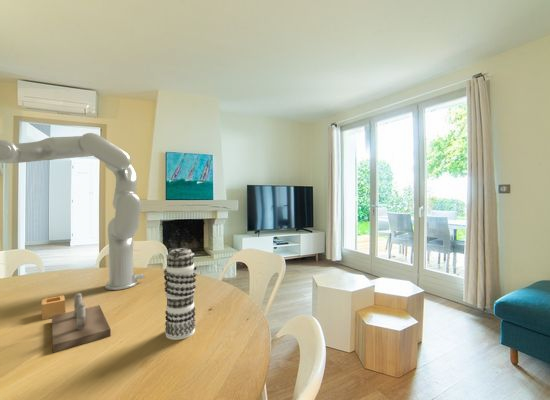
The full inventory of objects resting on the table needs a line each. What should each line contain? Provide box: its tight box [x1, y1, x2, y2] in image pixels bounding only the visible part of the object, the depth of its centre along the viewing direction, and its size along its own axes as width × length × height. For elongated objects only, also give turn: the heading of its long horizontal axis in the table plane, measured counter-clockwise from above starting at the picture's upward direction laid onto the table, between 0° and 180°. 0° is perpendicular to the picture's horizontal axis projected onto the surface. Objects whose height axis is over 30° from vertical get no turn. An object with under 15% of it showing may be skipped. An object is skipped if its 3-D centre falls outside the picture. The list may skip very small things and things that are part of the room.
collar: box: [41, 294, 66, 321], centre depth 92 cm, size 6×6×5 cm
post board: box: [51, 292, 112, 353], centre depth 83 cm, size 13×22×10 cm, turn 40°
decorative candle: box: [163, 247, 197, 341], centre depth 80 cm, size 9×9×25 cm
